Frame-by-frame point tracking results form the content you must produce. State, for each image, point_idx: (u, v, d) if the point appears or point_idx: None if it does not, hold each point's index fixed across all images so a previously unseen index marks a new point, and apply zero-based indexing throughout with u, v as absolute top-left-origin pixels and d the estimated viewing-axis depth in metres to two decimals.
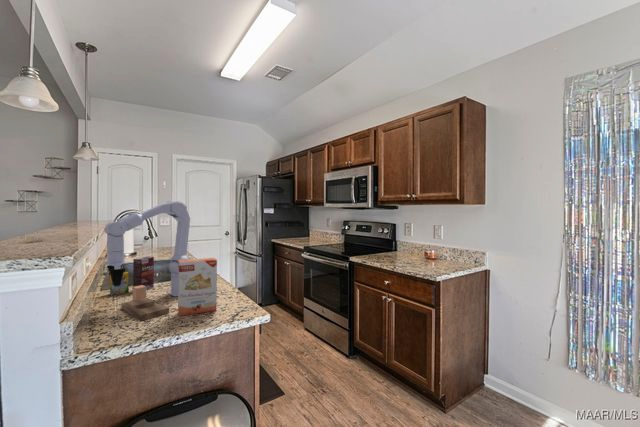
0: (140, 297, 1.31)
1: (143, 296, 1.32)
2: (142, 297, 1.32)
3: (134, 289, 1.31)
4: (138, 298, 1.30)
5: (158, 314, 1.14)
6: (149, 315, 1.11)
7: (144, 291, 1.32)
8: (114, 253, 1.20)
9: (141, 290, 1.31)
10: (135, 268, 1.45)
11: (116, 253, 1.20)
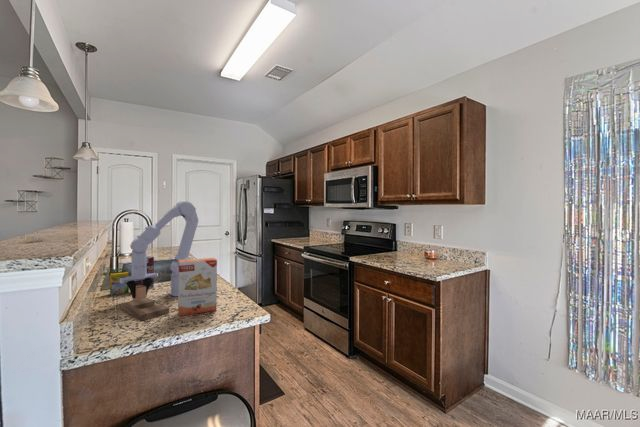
0: (140, 297, 1.31)
1: (143, 296, 1.32)
2: (142, 297, 1.32)
3: None
4: (138, 298, 1.30)
5: (158, 314, 1.14)
6: (149, 315, 1.11)
7: (144, 291, 1.32)
8: None
9: (141, 290, 1.31)
10: None
11: (132, 268, 1.30)
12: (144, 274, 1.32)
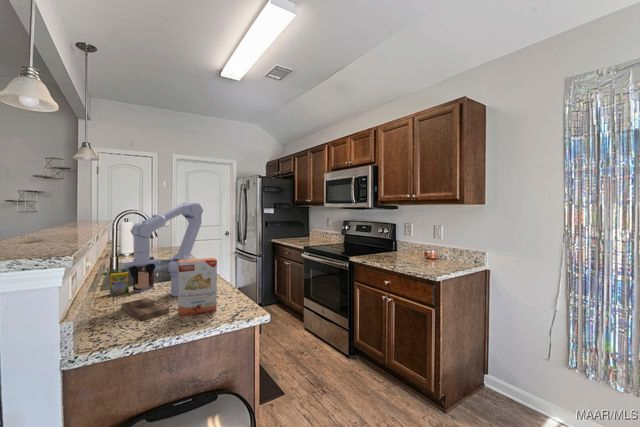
0: (142, 284, 1.26)
1: (146, 282, 1.27)
2: (144, 284, 1.27)
3: None
4: (140, 284, 1.25)
5: (158, 314, 1.14)
6: (149, 315, 1.11)
7: (147, 277, 1.27)
8: (134, 253, 1.25)
9: (143, 277, 1.26)
10: None
11: (134, 253, 1.25)
12: (147, 260, 1.26)
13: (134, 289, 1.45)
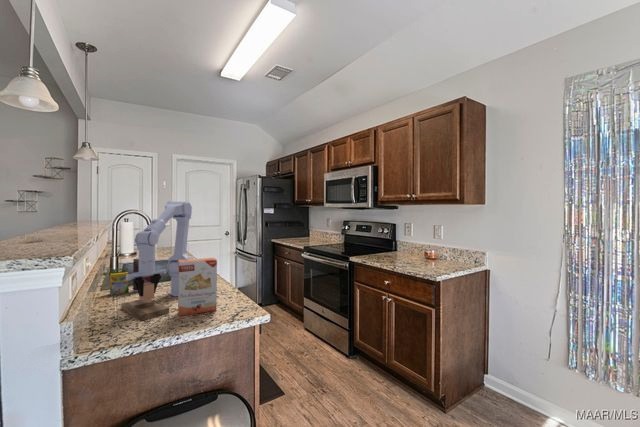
0: (148, 295, 1.19)
1: (151, 294, 1.20)
2: (150, 295, 1.20)
3: None
4: (146, 296, 1.18)
5: (158, 314, 1.14)
6: (149, 315, 1.11)
7: (152, 288, 1.20)
8: None
9: (148, 288, 1.19)
10: (135, 268, 1.45)
11: (139, 263, 1.17)
12: (153, 270, 1.19)
13: (134, 289, 1.45)
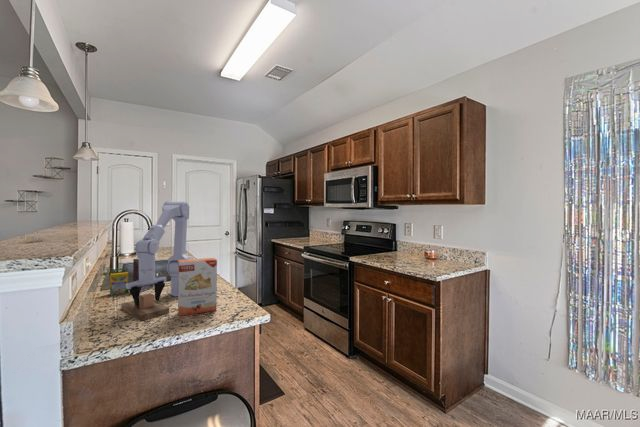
0: None
1: (151, 305, 1.20)
2: None
3: (141, 298, 1.19)
4: None
5: (158, 314, 1.14)
6: (149, 315, 1.11)
7: (152, 300, 1.20)
8: (139, 271, 1.18)
9: (149, 299, 1.19)
10: (135, 268, 1.45)
11: (139, 272, 1.18)
12: (153, 278, 1.19)
13: None
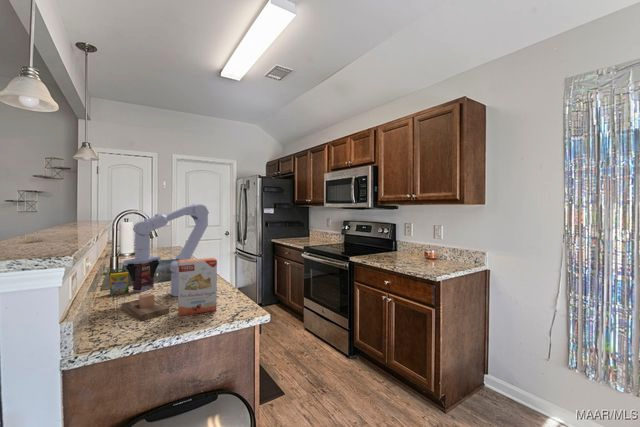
0: None
1: (151, 305, 1.20)
2: (150, 306, 1.20)
3: (141, 298, 1.19)
4: None
5: (158, 314, 1.14)
6: (149, 315, 1.11)
7: (152, 300, 1.20)
8: (135, 250, 1.30)
9: (148, 299, 1.19)
10: None
11: (135, 250, 1.29)
12: (147, 257, 1.31)
13: (134, 289, 1.45)
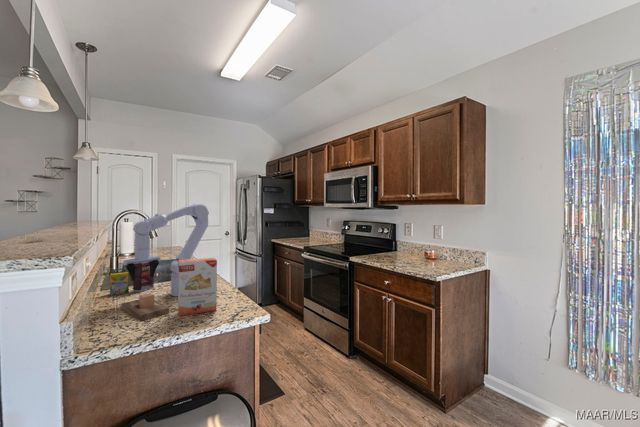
0: None
1: (151, 305, 1.20)
2: None
3: (141, 298, 1.19)
4: None
5: (158, 314, 1.14)
6: (149, 315, 1.11)
7: (152, 300, 1.20)
8: None
9: (148, 299, 1.19)
10: (135, 268, 1.45)
11: (135, 250, 1.30)
12: (147, 256, 1.32)
13: (134, 289, 1.45)
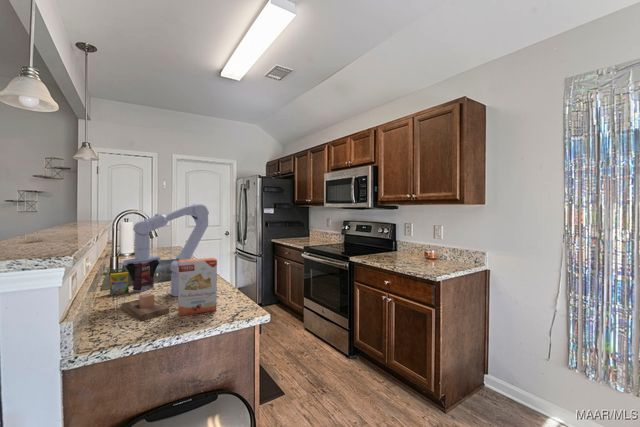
0: None
1: (151, 305, 1.20)
2: None
3: (141, 298, 1.19)
4: None
5: (158, 314, 1.14)
6: (149, 315, 1.11)
7: (152, 300, 1.20)
8: None
9: (148, 299, 1.19)
10: (135, 268, 1.45)
11: (135, 250, 1.30)
12: (147, 256, 1.32)
13: (134, 289, 1.45)
